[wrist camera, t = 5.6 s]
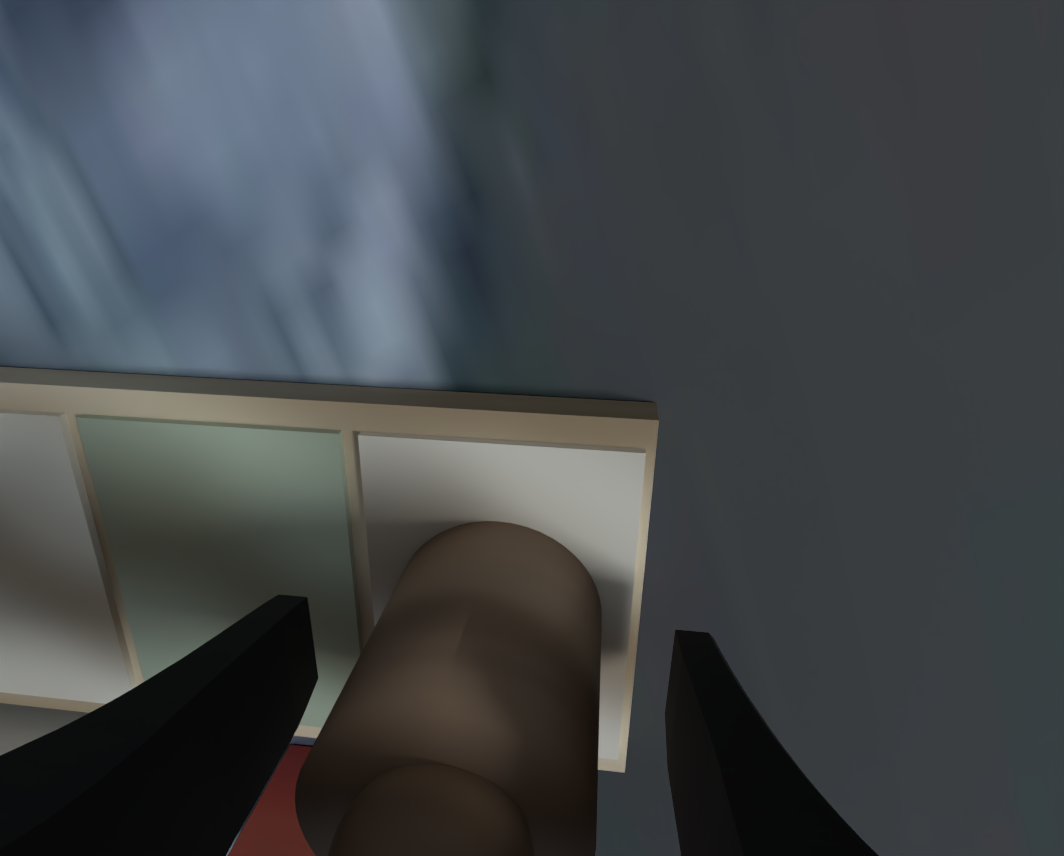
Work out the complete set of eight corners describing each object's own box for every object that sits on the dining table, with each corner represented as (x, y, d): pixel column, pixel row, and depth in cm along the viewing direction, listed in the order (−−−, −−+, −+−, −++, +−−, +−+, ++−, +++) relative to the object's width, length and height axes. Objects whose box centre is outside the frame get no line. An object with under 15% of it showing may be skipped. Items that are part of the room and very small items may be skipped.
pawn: (595, 700, 15) (582, 1124, 8) (404, 681, 15) (246, 1068, 9) (608, 529, 13) (603, 888, 6) (392, 513, 13) (187, 834, 7)
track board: (624, 738, 16) (624, 779, 15) (-213, 649, 19) (-263, 679, 18) (655, 402, 13) (659, 424, 12) (-366, 346, 16) (-441, 360, 14)
